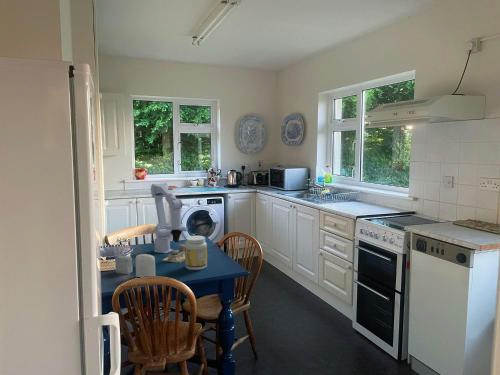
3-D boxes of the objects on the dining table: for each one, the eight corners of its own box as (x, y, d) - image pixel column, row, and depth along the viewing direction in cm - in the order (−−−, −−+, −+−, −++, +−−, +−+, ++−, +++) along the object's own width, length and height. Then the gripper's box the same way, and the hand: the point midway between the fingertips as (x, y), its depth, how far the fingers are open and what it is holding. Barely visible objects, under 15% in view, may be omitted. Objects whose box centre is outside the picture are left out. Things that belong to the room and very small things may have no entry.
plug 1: (169, 258, 226) (169, 251, 225) (174, 256, 230) (173, 249, 229) (176, 259, 224) (175, 252, 223) (180, 257, 228) (180, 250, 227)
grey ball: (176, 252, 232) (176, 245, 231) (180, 250, 236) (180, 243, 235) (182, 253, 230) (182, 246, 229) (186, 251, 234) (186, 244, 234)
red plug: (182, 249, 238) (182, 242, 238) (186, 247, 242) (186, 241, 242) (188, 250, 236) (188, 243, 236) (192, 248, 240) (192, 241, 240)
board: (162, 260, 225) (162, 254, 225) (183, 251, 246) (183, 245, 245) (179, 262, 221) (179, 256, 220) (199, 252, 241) (199, 247, 240)
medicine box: (133, 271, 206) (132, 256, 205) (127, 274, 202) (127, 258, 201) (120, 270, 209) (120, 255, 208) (115, 273, 205) (114, 257, 204)
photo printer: (156, 276, 198) (156, 253, 197) (153, 279, 194) (152, 256, 193) (139, 275, 201) (138, 252, 199) (134, 278, 196) (133, 255, 195)
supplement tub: (181, 266, 214) (180, 237, 212) (200, 262, 222) (199, 234, 220) (192, 272, 204) (191, 241, 203) (211, 267, 212) (210, 238, 210)
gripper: (162, 220, 226) (162, 242, 227) (182, 222, 220) (183, 244, 221) (169, 218, 232) (169, 239, 234) (189, 219, 226) (189, 241, 228)
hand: (176, 242), depth 228 cm, fingers closed
